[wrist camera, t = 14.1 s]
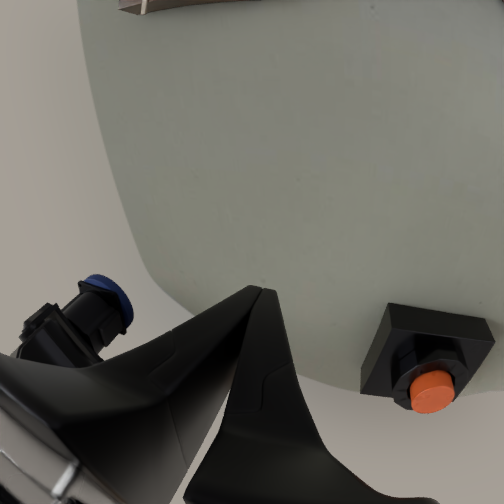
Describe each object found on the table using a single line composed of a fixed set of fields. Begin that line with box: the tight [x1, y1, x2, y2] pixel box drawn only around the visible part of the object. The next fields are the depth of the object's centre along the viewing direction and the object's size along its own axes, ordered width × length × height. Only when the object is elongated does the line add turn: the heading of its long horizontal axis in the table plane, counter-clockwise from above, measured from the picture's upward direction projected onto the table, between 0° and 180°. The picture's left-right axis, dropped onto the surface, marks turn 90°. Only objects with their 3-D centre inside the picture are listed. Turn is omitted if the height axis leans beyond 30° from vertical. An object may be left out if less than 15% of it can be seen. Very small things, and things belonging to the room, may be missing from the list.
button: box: [410, 370, 455, 413], centre depth 19 cm, size 4×4×2 cm
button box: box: [360, 303, 495, 410], centre depth 21 cm, size 10×8×5 cm
